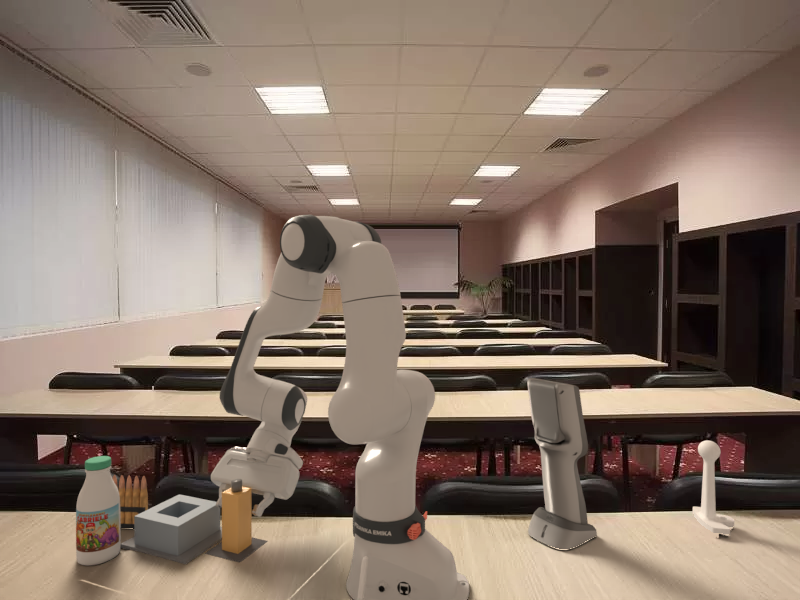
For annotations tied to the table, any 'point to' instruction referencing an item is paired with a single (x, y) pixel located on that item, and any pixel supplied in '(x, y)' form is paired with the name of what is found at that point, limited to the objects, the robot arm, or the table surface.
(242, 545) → the plug
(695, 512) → the joystick
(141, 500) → the ammunition clip
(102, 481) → the milk bottle
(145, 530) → the housing
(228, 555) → the mat
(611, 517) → the table surface
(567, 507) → the thermal camera
